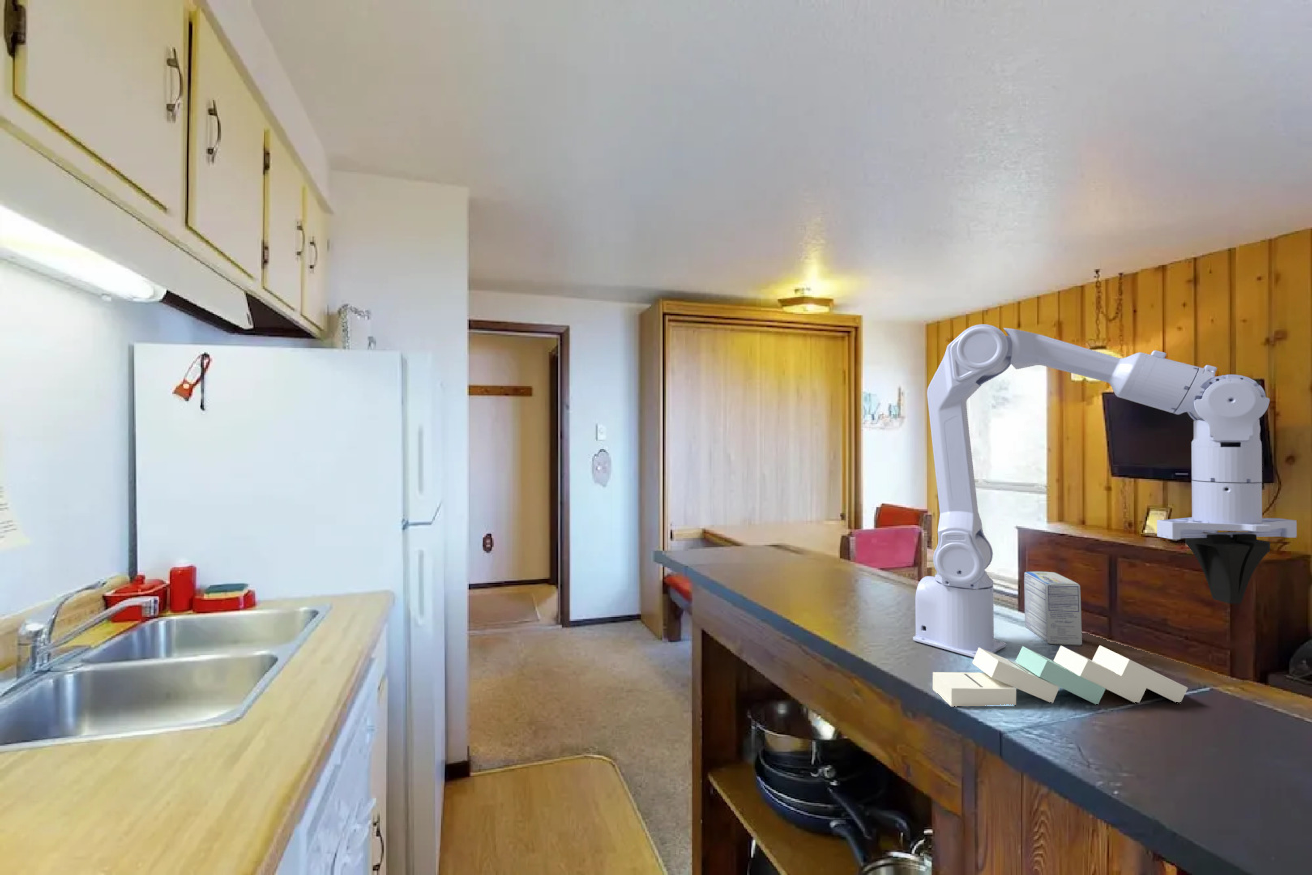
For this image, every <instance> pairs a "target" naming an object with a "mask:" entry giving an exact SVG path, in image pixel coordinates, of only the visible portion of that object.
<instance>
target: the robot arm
mask: <svg viewBox="0 0 1312 875" xmlns="http://www.w3.org/2000/svg"><path fill="white" fill-rule="evenodd" d="M1003 329H1004V331H1005V333H1006V334H1007V335H1006V334H1005V333H1004V332H1003V331H1002V330H1001V329H1000V328H998V327H996V326H994V325H993V324H992V325H990V324H987V323H986V324H985V323H984V324H982V323H981V324H975V325H972V326H970V327H968V328H966V329H964V330H963V331H962V332H961V333H960V334H959V335H958V336H957V337H955V339H953V340H952V341H951V342H950V343H949V344H947V346H946V350H945V353H944V355H943V357H942V360H941V362H940V364H939V365H938V368H937V370H936V371H935V373H934V375H933V377H932V379H931V381H930V383H929V385H928V387H927V390H926V391H927V392H926V397H927V406H928V413H929V414H928V415H929V425H930V431H931V432H930V435H931V441H932V451H933V461H934V471H935V479H936V480H935V481H936V488H937V490H936V491H937V499H938V508H939V519H938V525H937V526H938V527H937V537H938V540H937V546H936V548H935V550H934V552H933V555H932V556H933V558H932V561H933V566H934V569H935V571H936V574H935V575H934V576H932V575H926V576H924V577H922V578H921V579H920V581H919V582H918V584H917V587H916V589H915V590H916V591H915V600H914V601H915V604H914V605H915V610H914V611H915V635H914V636H913V637H912V640H913V641H915V642H918V643H922V644H925V645H929V646H933V647H935V648H939V649H944V650H945V651H946V650H947V651H950V652H953V653H957V654H960V655H964V656H968V657H970V658H974V657H975V655H976V653H977V650H978V648H982V649H984V650H986V651H989V652H991V653H993V654H995V653H997V652H998V651H1000V650H1002V649H1004V648H1006V647H1007V642H1004V641H1001V640H997V639H995V638H994V637H995V632H994V630H995V626H994V625H995V622H994V621H995V620H994V618H995V617H994V614H995V613H994V612H995V611H994V580H993V579H992V578H991V577H990V576H989V574H988V573H987V571H986V569H988V567H990V565H991V562H992V561H993V556H994V553H993V547H992V545H991V543H990V541H989V540H988V538H987V536H985V533H984V530H983V529H984V528H983V523H982V520H981V517H980V513H979V508H978V500H977V499H978V498H977V489H976V482H975V481H976V479H975V473H974V472H975V471H974V464H973V455H972V454H973V453H972V446H971V436H970V427H969V418H968V411H967V410H968V409H967V400H968V399H969V398H971V396H972V395H973V394H974V393H976V391H977V390H978V389H979V388H981V386H982V385H983V384H985V383H987V382H988V381H990V380H993V379H994V378H997V377H998V376H1000V375H1002V374H1003V373H1005V372H1006V370H1008V369H1009V367H1010V366H1013V368H1014V369H1015V370H1021V369H1026V368H1031V367H1034V366H1042V367H1047V368H1050V369H1054V370H1059V371H1061V372H1065V373H1066V372H1067V373H1070V374H1075V375H1078V376H1083V377H1086V378H1089V379H1094V380H1097V381H1102V382H1104V383H1105V382H1106V383H1107V384H1109V385H1110V387H1111V389H1112V390H1113V393H1114V394H1115V397H1117V398H1120V399H1123V400H1127V401H1130V402H1134V403H1138V404H1141V405H1144V406H1148V407H1151V408H1155V409H1157V410H1161V411H1165V412H1168V413H1171V414H1174V415H1182V414H1184V413H1187V414H1188V416H1189V417H1190V418H1191V419H1192V420H1193V439H1192V441H1191V442H1190V443H1191V517H1182V518H1181V517H1180V518H1171V519H1169V518H1168V519H1156V536H1157V537H1158V538H1165V539H1169V540H1181V539H1185V540H1184V542H1185V545H1187V547H1188V548H1189V550H1190V551H1191V552H1192V553H1193V555H1194V556H1195V559H1196V560H1197V562H1198V563H1199V565H1200V567H1201V570H1202V572H1203V574H1204V577H1205V579H1206V582H1207V585H1208V588H1209V591H1210V594H1211V597H1212V600H1215V601H1219V602H1223V603H1225V604H1229V605H1232V604H1233V605H1235V604H1240V605H1241V604H1242V601H1243V599H1244V597H1245V594H1246V590H1247V587H1248V585H1249V582H1250V580H1251V577H1252V576H1253V573H1254V572H1255V570H1256V568H1257V567H1258V566H1259V564H1260V562H1261V561H1262V560H1263V559H1264V558H1265V556H1266V555H1267V554H1268V553H1269V552H1270V551H1271V542H1270V541H1268V540H1262V539H1258V538H1259V537H1260V538H1261V537H1265V538H1267V537H1269V538H1271V537H1272V538H1273V537H1282V538H1288V539H1289V538H1297V536H1298V534H1297V530H1298V528H1297V527H1298V526H1297V525H1298V524H1297V523H1298V521H1297V520H1295V519H1286V518H1280V517H1279V518H1278V517H1270V518H1269V517H1263V498H1262V497H1263V484H1262V483H1263V472H1262V471H1263V468H1262V467H1263V465H1262V464H1263V462H1262V460H1263V459H1262V458H1263V457H1262V455H1263V454H1262V453H1263V450H1262V448H1263V446H1262V441H1261V438H1260V437H1261V436H1260V435H1261V434H1260V433H1261V425H1260V418H1261V417H1263V415H1264V414H1266V411H1267V410H1268V408H1269V404H1270V402H1271V401H1270V397H1267V396H1266V395H1267V394H1266V391H1265V390H1264V388H1263V387H1262V386H1261V385H1260V384H1259V383H1257V381H1256V380H1254V379H1252V378H1250V377H1249V376H1245V375H1240V374H1225V375H1224V374H1222V375H1218V376H1216V372H1217V370H1218V367H1216V366H1214V365H1213V366H1212V365H1210V364H1206V365H1205V366H1204V367H1200V366H1196V365H1193V364H1192V365H1191V364H1188V363H1186V362H1179V361H1176V360H1172V359H1169V358H1166V356H1167V353H1166V352H1163V351H1159V350H1153V351H1152V352H1151V353H1150V354H1148V353H1145V352H1140V351H1139V352H1136V353H1133V354H1131V355H1129V356H1126V357H1122V358H1120V357H1116V356H1114V355H1109V354H1106V353H1102V352H1100V351H1097V350H1093V349H1090V348H1085V347H1083V346H1079V345H1076V344H1074V343H1070V342H1066V341H1063V340H1059V339H1056V338H1052V337H1049V336H1046V335H1043V334H1039V333H1034V332H1031V331H1025V330H1020V329H1015V328H1008V327H1003Z"/></svg>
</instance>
